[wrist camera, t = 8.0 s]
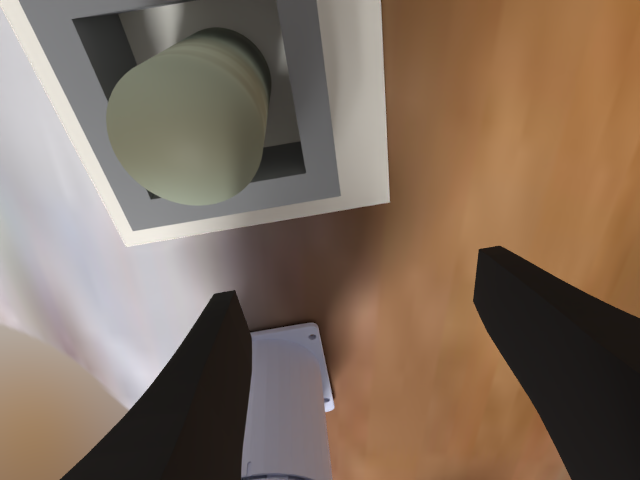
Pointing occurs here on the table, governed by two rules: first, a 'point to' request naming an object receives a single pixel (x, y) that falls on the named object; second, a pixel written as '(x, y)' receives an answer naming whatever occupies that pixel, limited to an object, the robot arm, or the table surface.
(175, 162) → the peg
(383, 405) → the table surface
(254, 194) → the socket
